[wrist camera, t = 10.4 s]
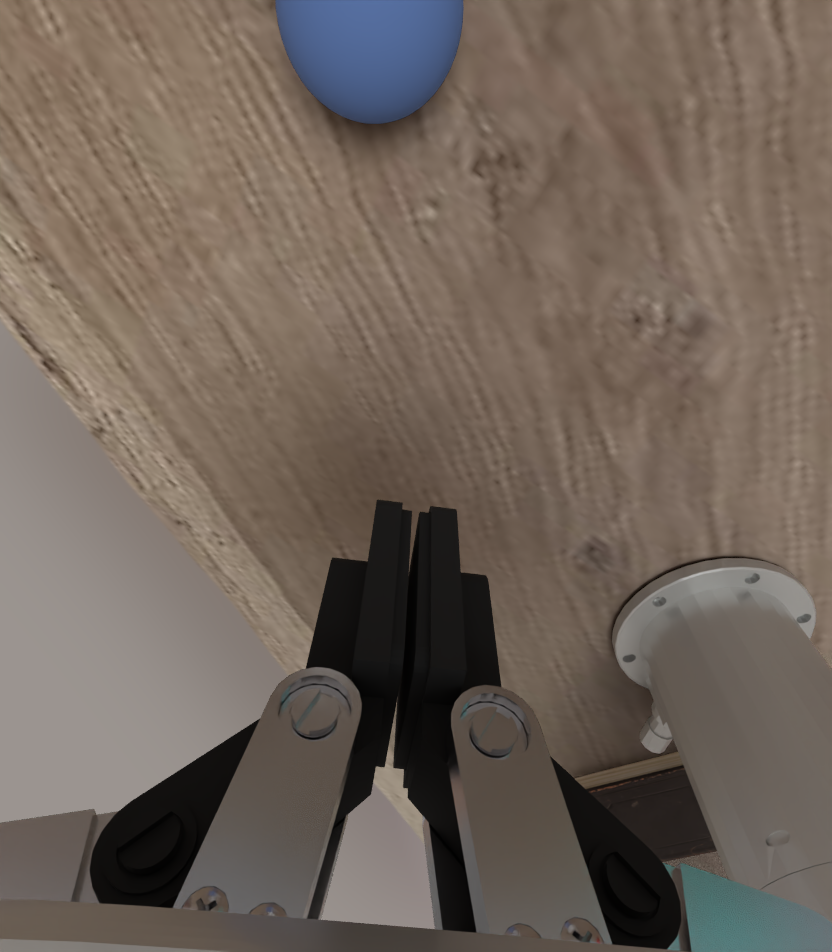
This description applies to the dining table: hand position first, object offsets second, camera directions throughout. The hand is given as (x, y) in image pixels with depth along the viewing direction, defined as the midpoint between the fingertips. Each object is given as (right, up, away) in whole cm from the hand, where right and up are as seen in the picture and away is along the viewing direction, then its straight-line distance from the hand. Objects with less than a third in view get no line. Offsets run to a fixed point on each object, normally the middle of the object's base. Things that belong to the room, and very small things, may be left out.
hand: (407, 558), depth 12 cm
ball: (-1, +17, +6) cm, 18 cm away
